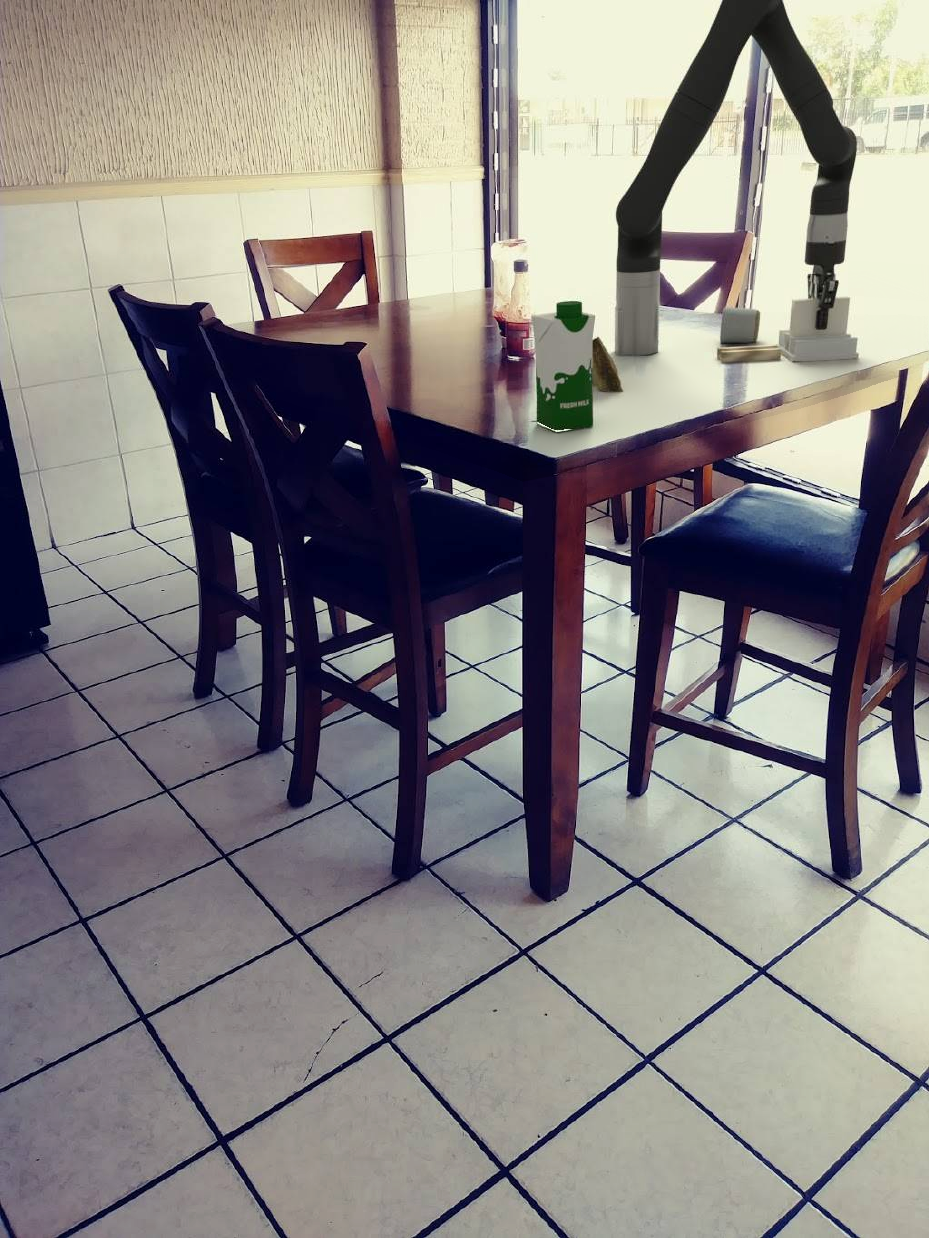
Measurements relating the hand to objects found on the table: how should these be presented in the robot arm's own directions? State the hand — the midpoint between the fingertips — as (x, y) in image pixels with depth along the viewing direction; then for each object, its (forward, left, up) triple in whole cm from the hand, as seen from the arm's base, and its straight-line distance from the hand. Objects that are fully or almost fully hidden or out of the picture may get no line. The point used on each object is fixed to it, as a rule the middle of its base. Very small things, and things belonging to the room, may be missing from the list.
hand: (818, 327), depth 201 cm
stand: (-14, -1, -5) cm, 15 cm away
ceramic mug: (-12, +19, -6) cm, 23 cm away
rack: (0, 0, -5) cm, 5 cm away
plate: (0, 0, -4) cm, 4 cm away
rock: (-46, -20, -6) cm, 50 cm away
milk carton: (-55, -48, -6) cm, 73 cm away
